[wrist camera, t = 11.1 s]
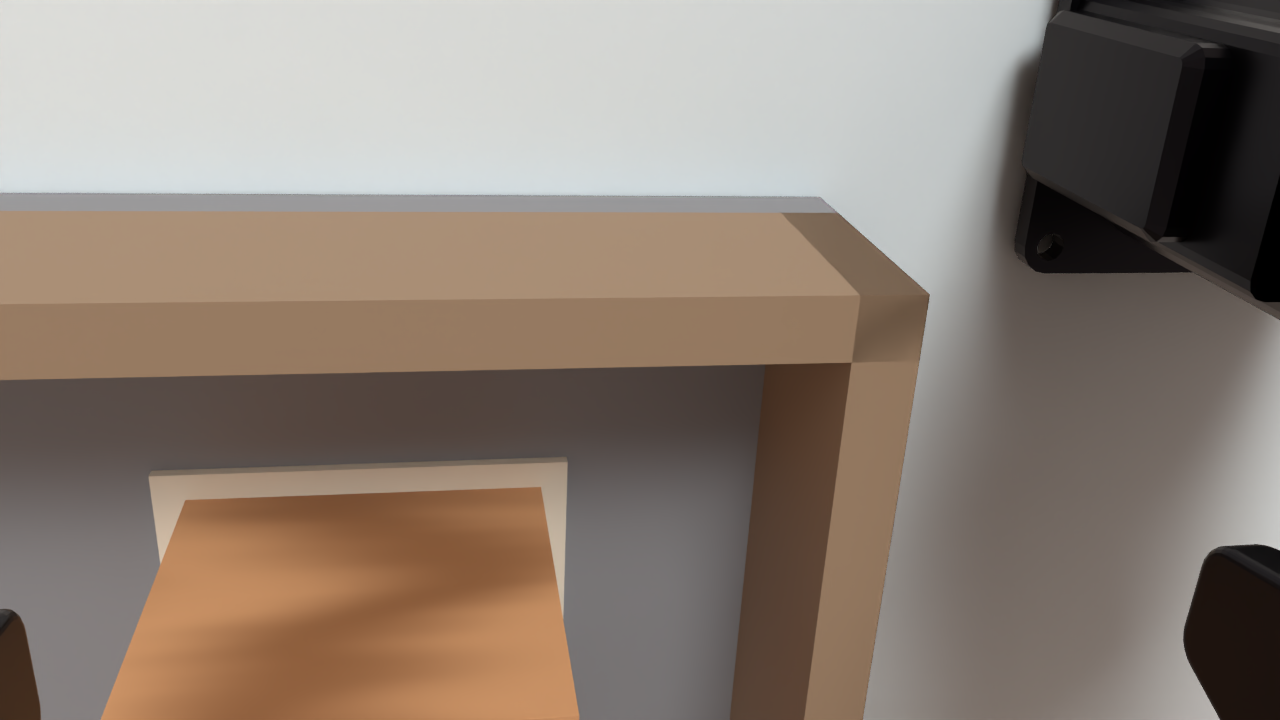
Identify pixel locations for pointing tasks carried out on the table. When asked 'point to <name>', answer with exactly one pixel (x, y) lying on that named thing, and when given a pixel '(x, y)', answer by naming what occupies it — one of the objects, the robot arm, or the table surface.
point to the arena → (473, 414)
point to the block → (353, 612)
